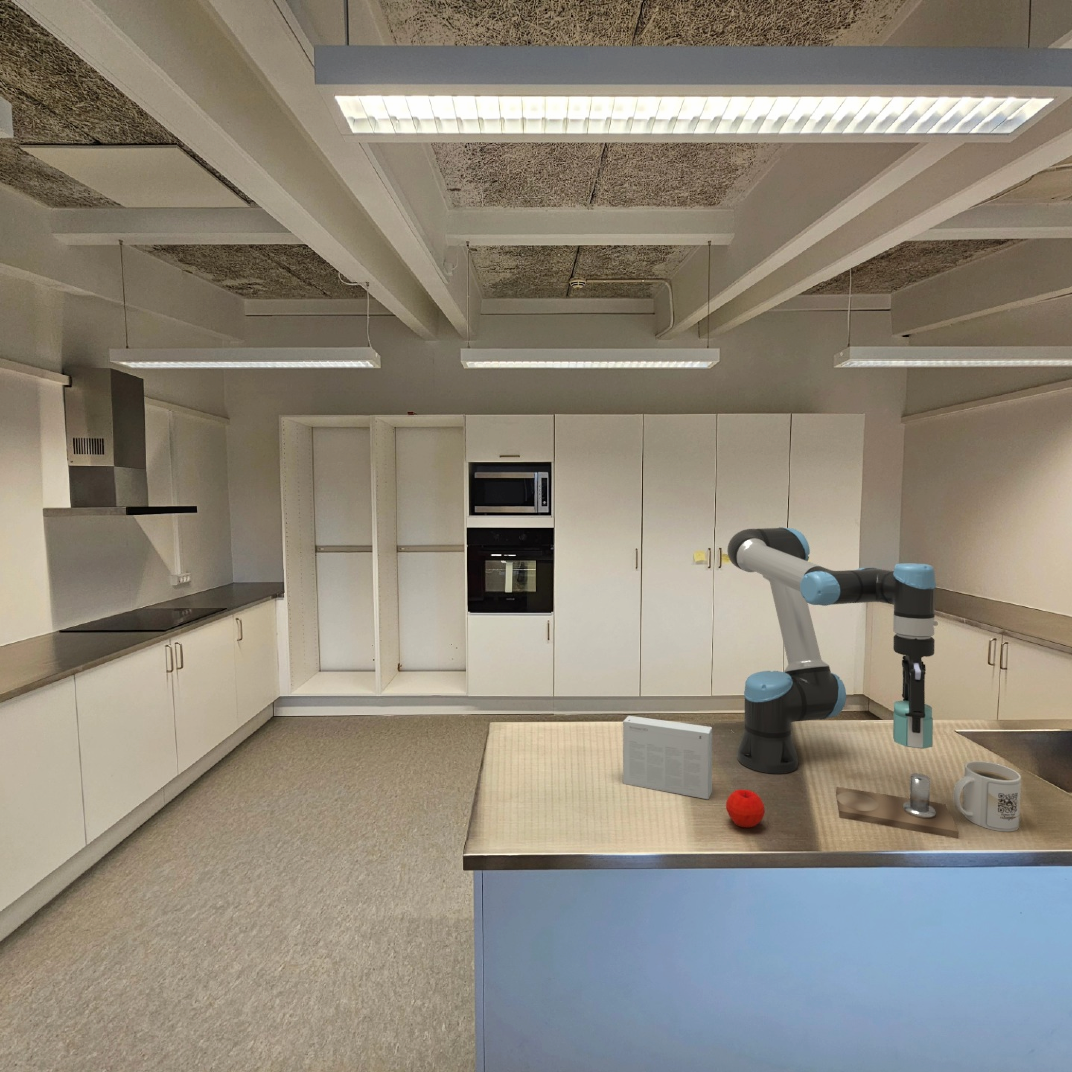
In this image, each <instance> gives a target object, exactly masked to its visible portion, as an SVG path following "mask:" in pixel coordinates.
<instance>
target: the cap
mask: <svg viewBox="0 0 1072 1072" xmlns="http://www.w3.org/2000/svg"><path fill="white" fill-rule="evenodd" d="M905 713H909V701H903V700H897V701H896V700H895V702H894V703H893V713H892V714H893V717H892V718H893V725H892V726H893V727H892V732H893V733H892V739H893V741H894V743H895V744H899V745H901V746H904V747H906V748H914V749H922V750H923V749H924V750H925V749H928V748H933V746H934V745H933V743H934V742H933V740H934V739H933V736H934V735H933V732H934V731H933V730H934V728H933V726H934V719H933V708H932V706H930V705H929V704H926V703H925V718H923V748H919V747H911V746H908V716H905Z"/></svg>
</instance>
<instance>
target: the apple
mask: <svg viewBox="0 0 1072 1072" xmlns="http://www.w3.org/2000/svg"><path fill="white" fill-rule="evenodd" d="M725 804H726V805H725V808H726V811H727V814H728V815H729V818H730V819H731V820H732V821H733V823H734V824H735V825H736V826H738V827H741V828H754V827H755V826H757V825H758V824H760V822H761V821H762V820H763V819H764V816H765V813H766V810H765V804H764V802H763V801H762V799H761V797H760V796H759V795H758V794H757V793H756V792H754V791H751V790H748V789H736V790H734V791H733V792H731V793H730V795H729V796H728V798H727V799H726V803H725Z"/></svg>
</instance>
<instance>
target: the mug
mask: <svg viewBox="0 0 1072 1072" xmlns="http://www.w3.org/2000/svg"><path fill="white" fill-rule="evenodd" d="M1021 788H1022V776H1021V774H1020V773H1019V772H1018V771H1016V770H1014V769H1013V768H1011V767H1008V766H1005V765H1003V764H999V763H997V762H996V763H995V762H991V761H984V760H974V761H973V760H972V761H967V762H966V763H965V764H964V776H962V777H961V778H960V779H959V780H958V781H957V782H956V783H955V786H954V788H953V792H952V801H953V805H954V807H955V808H956V809H957V811H958V812H960V813H962V814H963V816H964V818H966V819H967V820H969V821H970V822H971V823H973V824H975V825H977V826H979V827H982V828H985V829H988V830H991V831H998V832H1006V833H1007V832H1009V833H1010V832H1015V831H1017V830H1018V829H1019V827H1020V815H1021V812H1020V811H1021V810H1020V809H1021V795H1022V793H1021V790H1022V789H1021ZM962 791H963V803H962V804H963V805H962V804H961V794H962Z"/></svg>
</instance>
